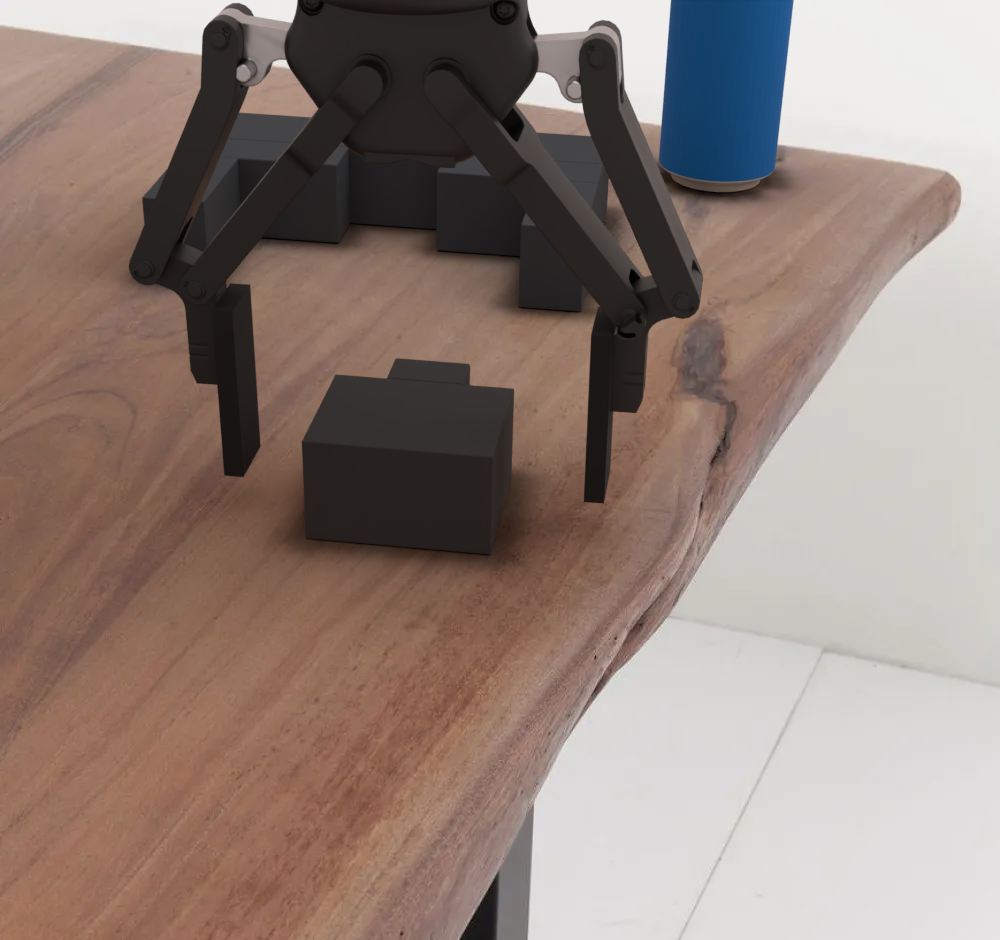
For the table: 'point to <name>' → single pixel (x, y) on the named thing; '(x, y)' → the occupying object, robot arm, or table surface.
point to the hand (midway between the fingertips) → (418, 474)
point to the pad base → (403, 202)
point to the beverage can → (724, 91)
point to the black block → (409, 459)
